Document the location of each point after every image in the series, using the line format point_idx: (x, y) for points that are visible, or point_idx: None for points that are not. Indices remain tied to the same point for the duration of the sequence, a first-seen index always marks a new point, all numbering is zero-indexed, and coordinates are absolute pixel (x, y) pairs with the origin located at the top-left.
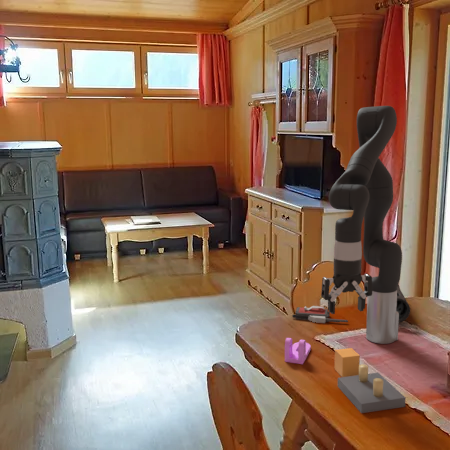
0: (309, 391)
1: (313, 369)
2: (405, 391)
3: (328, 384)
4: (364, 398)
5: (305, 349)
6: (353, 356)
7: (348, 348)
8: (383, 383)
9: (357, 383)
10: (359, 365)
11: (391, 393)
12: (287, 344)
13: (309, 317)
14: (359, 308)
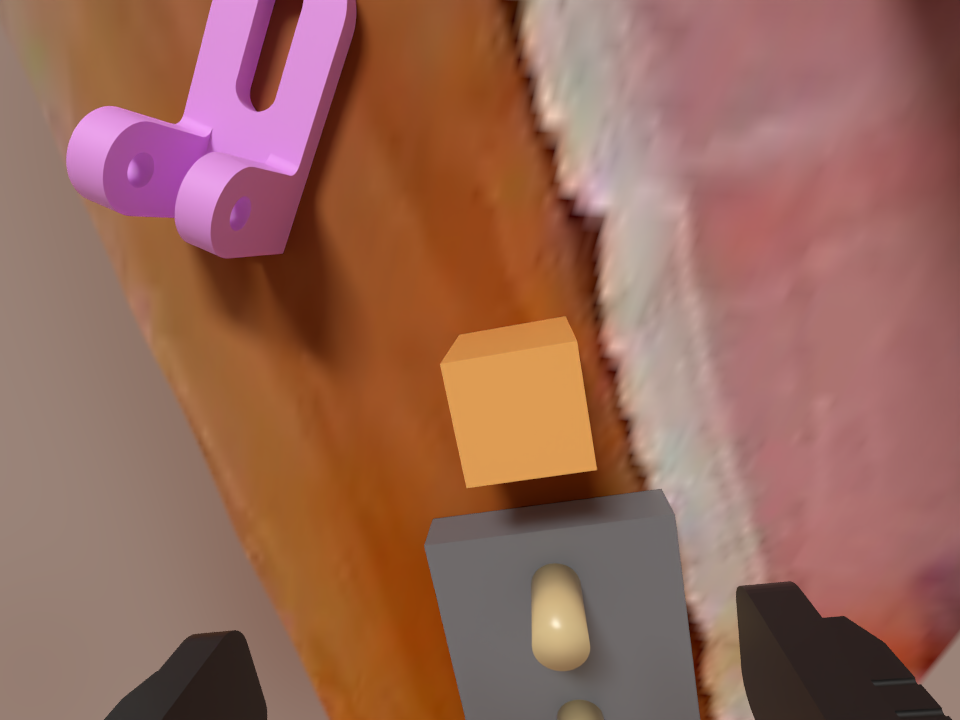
0: (290, 547)
1: (337, 326)
2: None
3: (391, 495)
4: None
5: (271, 181)
6: (548, 475)
7: (549, 348)
8: (653, 628)
9: (514, 612)
10: (538, 633)
11: (652, 717)
12: (104, 205)
13: None
14: (755, 670)
